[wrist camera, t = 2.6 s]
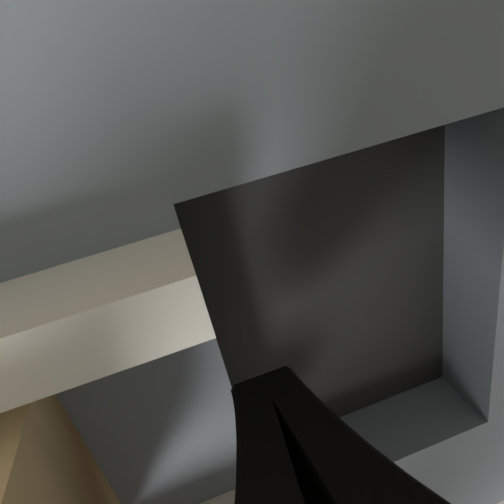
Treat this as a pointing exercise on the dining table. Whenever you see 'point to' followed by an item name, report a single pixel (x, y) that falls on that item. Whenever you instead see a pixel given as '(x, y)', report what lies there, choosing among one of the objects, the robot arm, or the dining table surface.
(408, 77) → the trap deck
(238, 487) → the robot arm
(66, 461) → the maple block
